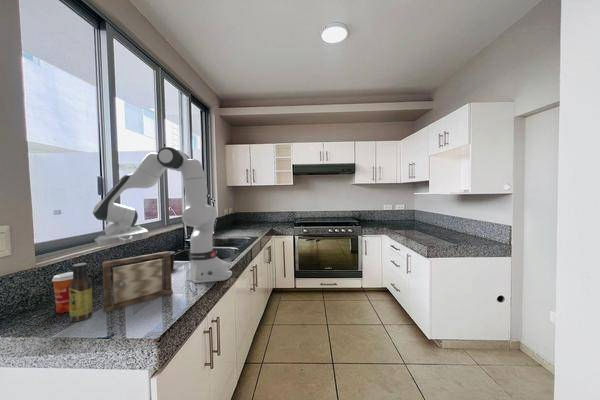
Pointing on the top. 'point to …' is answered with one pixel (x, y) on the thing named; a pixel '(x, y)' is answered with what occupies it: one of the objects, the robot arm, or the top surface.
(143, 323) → the top surface
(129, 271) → the birch door
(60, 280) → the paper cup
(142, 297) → the brown wooden frame
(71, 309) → the sauce bottle
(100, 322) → the top surface
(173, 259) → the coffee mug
